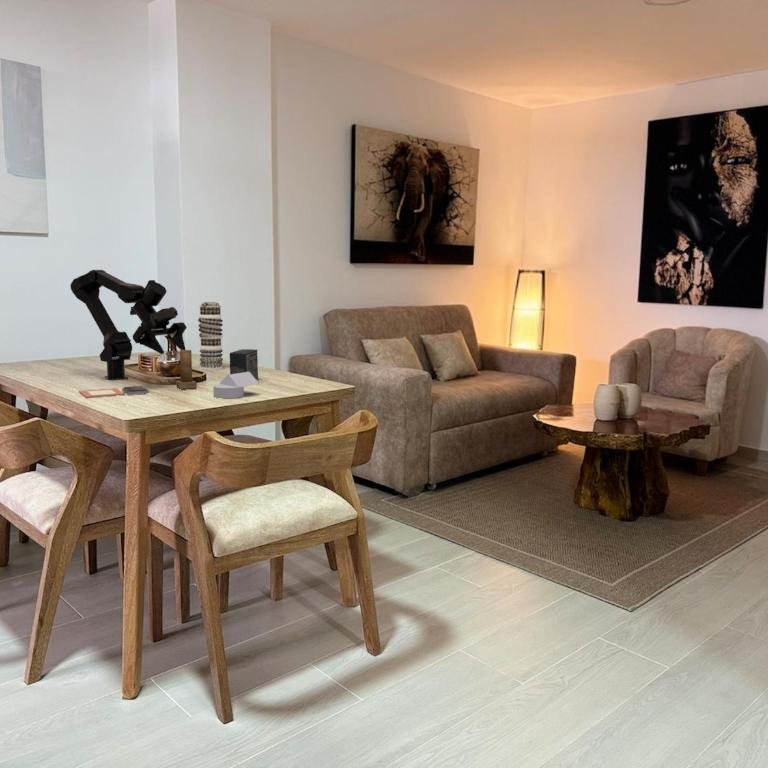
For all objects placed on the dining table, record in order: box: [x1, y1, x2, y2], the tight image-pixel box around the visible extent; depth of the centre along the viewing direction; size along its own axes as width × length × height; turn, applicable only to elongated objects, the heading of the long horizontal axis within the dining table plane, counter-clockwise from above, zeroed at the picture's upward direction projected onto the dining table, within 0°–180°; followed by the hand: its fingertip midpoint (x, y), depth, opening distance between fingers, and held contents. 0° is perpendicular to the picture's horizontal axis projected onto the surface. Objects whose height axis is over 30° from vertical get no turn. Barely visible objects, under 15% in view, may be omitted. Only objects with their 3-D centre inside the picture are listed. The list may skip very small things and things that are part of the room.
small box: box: [229, 348, 259, 380], centre depth 250 cm, size 11×6×10 cm, turn 168°
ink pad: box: [122, 385, 150, 396], centre depth 225 cm, size 8×6×1 cm
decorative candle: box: [197, 301, 224, 371], centre depth 276 cm, size 9×9×25 cm
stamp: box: [175, 349, 198, 391], centre depth 233 cm, size 5×5×12 cm
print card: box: [78, 387, 126, 399], centre depth 222 cm, size 11×11×1 cm
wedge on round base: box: [213, 372, 260, 400], centre depth 223 cm, size 9×7×13 cm
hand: (174, 351), depth 235 cm, fingers open, 9 cm apart
